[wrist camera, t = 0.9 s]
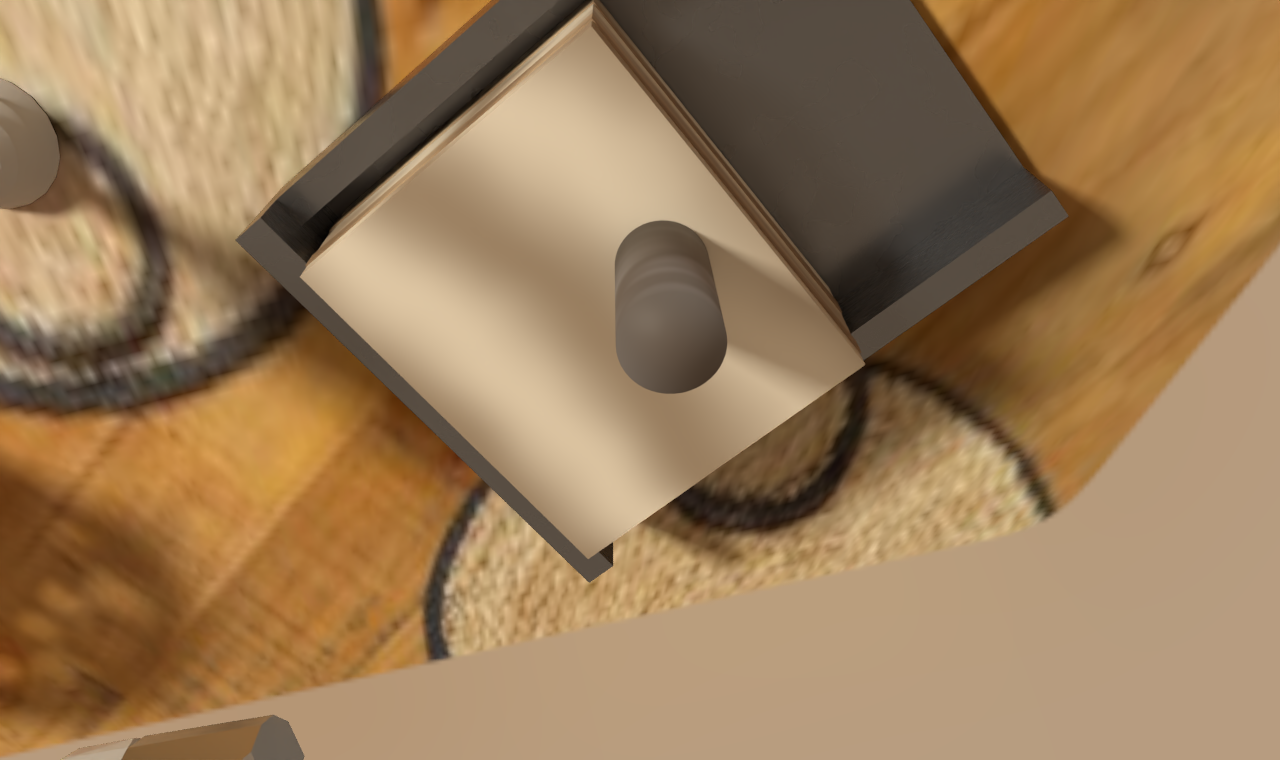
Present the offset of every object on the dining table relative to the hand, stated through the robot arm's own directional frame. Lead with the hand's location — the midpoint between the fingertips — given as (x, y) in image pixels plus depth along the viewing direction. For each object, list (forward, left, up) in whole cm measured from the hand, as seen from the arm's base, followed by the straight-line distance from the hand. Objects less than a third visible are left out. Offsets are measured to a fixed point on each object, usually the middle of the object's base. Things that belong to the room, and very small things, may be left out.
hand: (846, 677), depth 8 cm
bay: (+4, +5, -36) cm, 36 cm away
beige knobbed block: (+8, +5, -35) cm, 36 cm away
